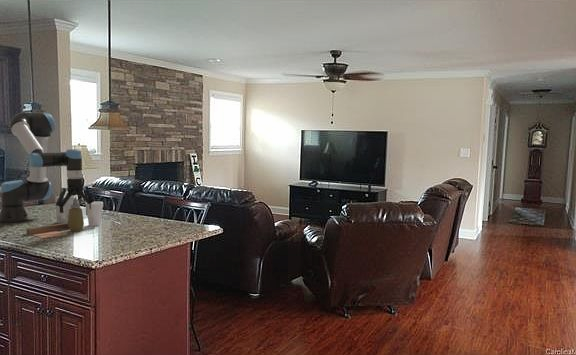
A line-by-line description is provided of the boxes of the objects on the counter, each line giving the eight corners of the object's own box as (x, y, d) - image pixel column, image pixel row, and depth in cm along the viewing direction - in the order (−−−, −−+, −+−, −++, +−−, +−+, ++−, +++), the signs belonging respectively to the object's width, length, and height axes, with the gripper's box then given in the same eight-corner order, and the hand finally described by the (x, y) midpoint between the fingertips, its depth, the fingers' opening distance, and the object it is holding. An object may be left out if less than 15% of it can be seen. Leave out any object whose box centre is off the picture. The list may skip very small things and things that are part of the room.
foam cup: (87, 227, 266) (87, 204, 264) (84, 224, 273) (83, 202, 272) (105, 225, 271) (104, 203, 270) (101, 222, 279) (101, 201, 277)
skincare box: (75, 222, 278) (74, 196, 276) (65, 224, 272) (64, 197, 270) (65, 221, 282) (64, 195, 280) (55, 222, 276) (54, 196, 274)
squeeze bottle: (86, 231, 256) (85, 198, 254) (71, 233, 250) (70, 199, 249) (80, 228, 262) (79, 196, 260) (65, 230, 256) (64, 197, 254)
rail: (26, 234, 246) (26, 228, 246) (78, 226, 268) (78, 220, 268) (41, 239, 236) (41, 233, 236) (94, 230, 258) (93, 225, 258)
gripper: (54, 180, 241) (56, 221, 243) (100, 176, 261) (101, 214, 263) (47, 179, 246) (49, 219, 248) (92, 176, 265) (93, 213, 267)
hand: (75, 217), depth 255 cm, fingers open, 13 cm apart
